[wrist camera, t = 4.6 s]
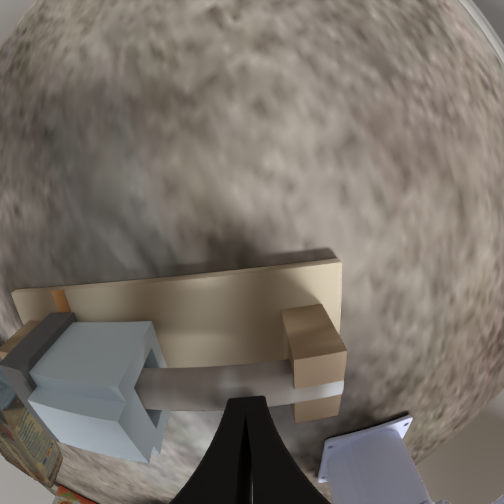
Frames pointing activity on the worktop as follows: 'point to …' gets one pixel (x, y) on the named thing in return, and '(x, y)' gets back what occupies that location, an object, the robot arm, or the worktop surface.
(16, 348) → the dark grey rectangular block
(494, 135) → the worktop surface
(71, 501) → the cracker box
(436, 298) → the worktop surface
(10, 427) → the beverage carton
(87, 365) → the sleeve
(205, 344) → the pipe stand
